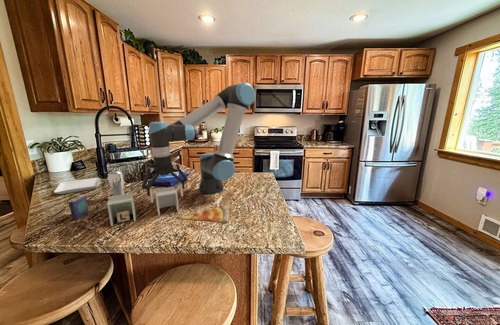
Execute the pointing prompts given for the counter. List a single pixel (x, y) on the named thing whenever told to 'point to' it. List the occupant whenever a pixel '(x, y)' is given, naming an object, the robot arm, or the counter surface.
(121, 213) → the letter cube
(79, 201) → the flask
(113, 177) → the beer glass
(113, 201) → the sage hood
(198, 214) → the pizza slice
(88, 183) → the salad plate
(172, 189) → the grey mini stool
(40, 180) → the counter surface
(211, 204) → the counter surface
